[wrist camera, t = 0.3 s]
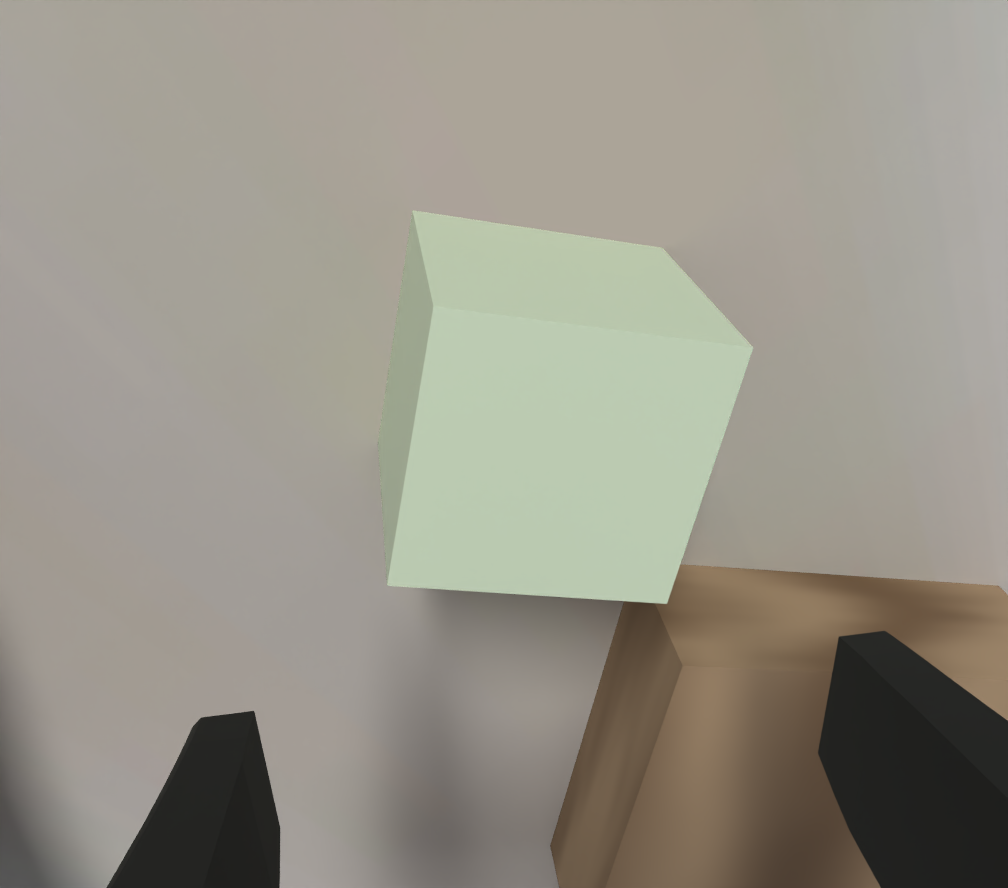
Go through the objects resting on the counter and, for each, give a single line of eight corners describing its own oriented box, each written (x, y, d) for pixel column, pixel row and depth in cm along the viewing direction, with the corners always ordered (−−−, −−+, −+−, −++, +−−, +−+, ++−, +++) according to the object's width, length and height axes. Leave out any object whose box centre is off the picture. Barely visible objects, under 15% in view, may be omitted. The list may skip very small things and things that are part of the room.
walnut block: (990, 577, 25) (1092, 684, 22) (857, 837, 30) (925, 958, 26) (632, 552, 23) (682, 666, 20) (548, 835, 28) (577, 968, 24)
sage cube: (661, 247, 19) (753, 348, 15) (601, 462, 21) (667, 603, 17) (411, 209, 18) (434, 306, 14) (377, 440, 20) (387, 585, 16)
